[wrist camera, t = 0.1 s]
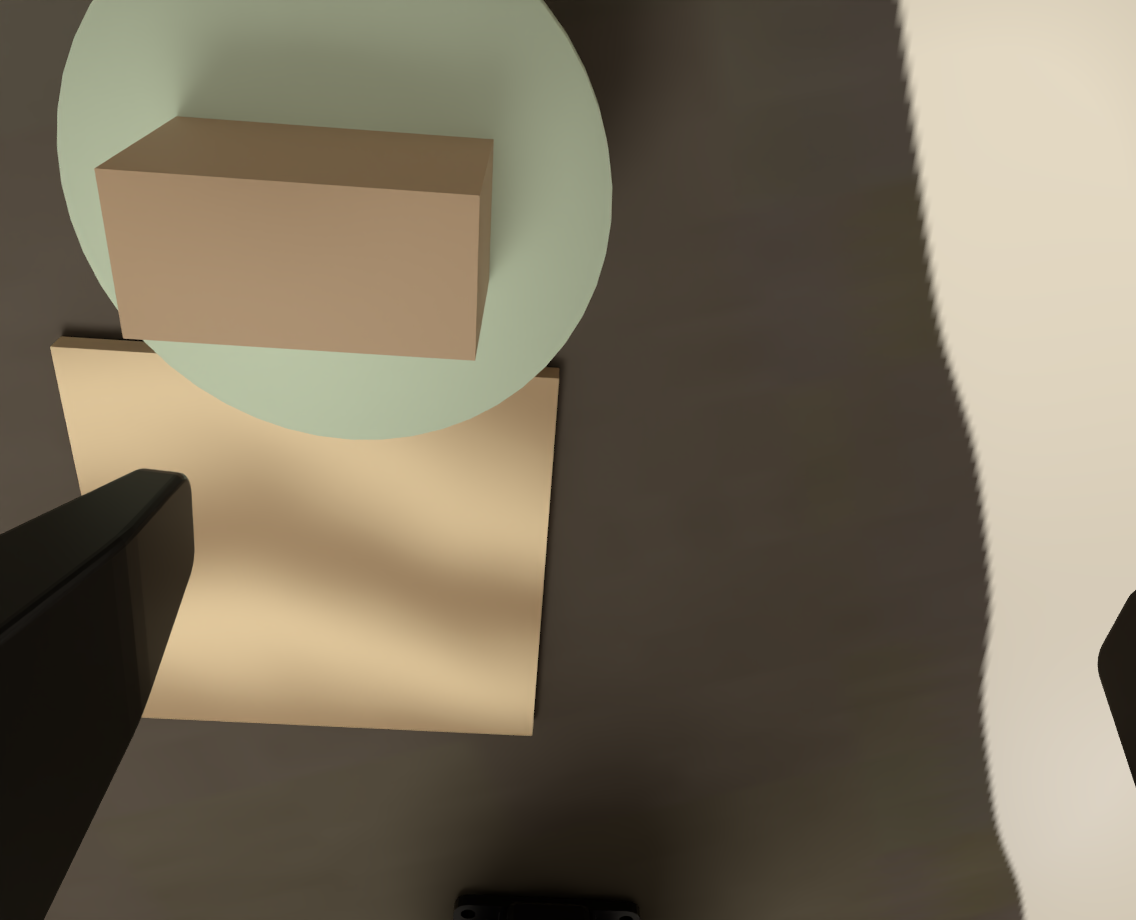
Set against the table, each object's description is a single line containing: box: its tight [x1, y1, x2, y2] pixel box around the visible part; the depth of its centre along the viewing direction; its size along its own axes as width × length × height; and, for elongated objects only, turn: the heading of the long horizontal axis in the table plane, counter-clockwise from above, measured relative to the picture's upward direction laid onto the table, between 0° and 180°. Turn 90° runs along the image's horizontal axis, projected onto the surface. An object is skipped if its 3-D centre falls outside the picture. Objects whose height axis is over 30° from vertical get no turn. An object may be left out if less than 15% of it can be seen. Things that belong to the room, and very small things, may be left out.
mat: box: [50, 336, 559, 736], centre depth 27 cm, size 12×12×1 cm
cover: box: [57, 0, 612, 440], centre depth 15 cm, size 9×9×4 cm
